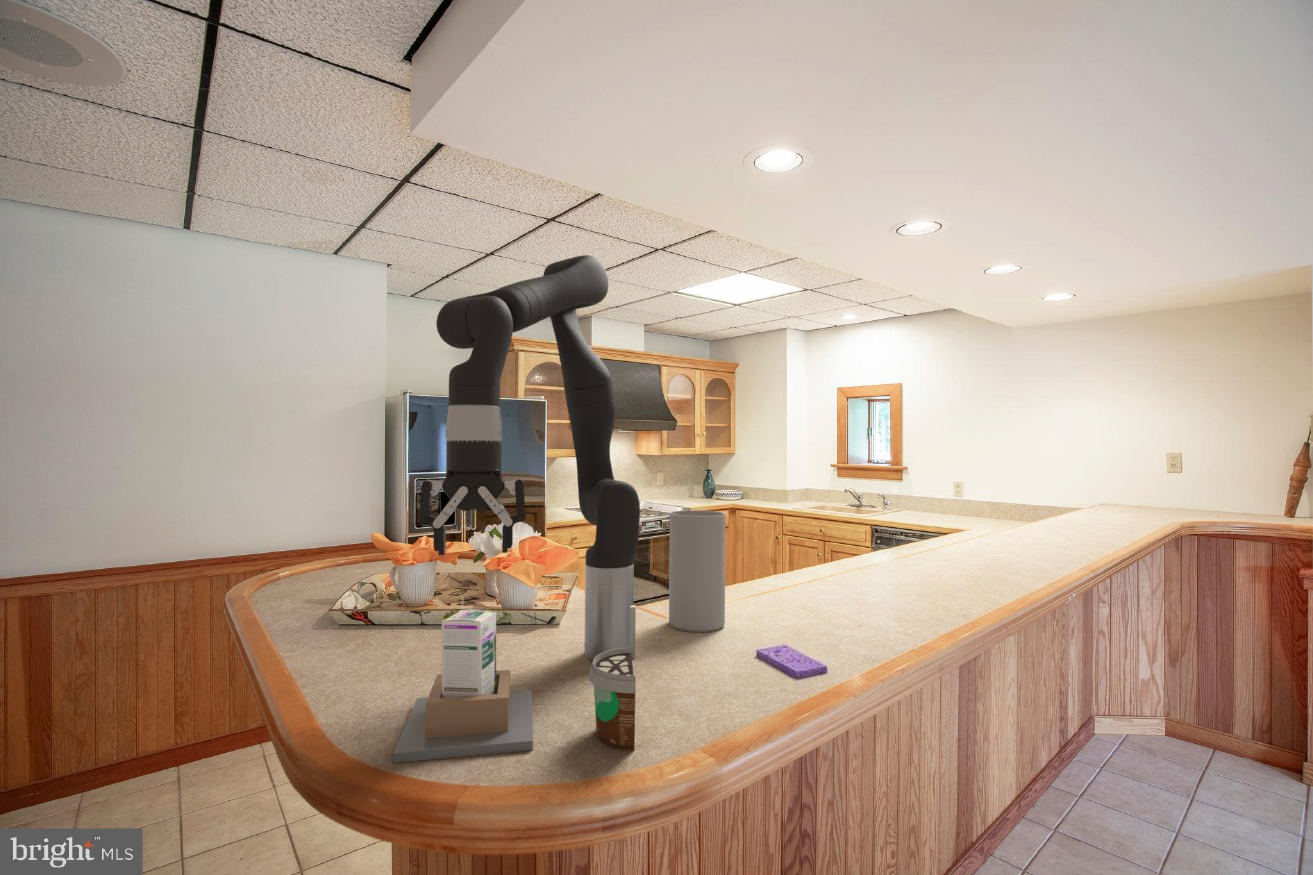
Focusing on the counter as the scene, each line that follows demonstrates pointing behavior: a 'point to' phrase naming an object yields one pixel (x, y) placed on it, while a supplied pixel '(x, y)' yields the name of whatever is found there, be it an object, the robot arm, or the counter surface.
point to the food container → (614, 698)
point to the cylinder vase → (697, 570)
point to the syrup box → (469, 653)
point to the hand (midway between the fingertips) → (473, 553)
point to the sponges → (791, 661)
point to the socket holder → (467, 724)
